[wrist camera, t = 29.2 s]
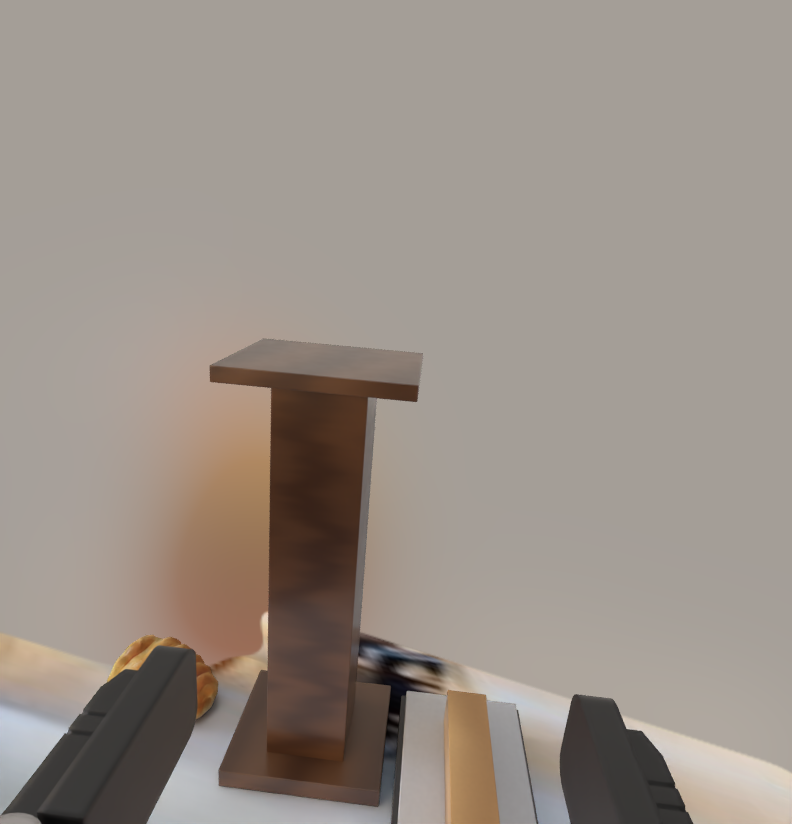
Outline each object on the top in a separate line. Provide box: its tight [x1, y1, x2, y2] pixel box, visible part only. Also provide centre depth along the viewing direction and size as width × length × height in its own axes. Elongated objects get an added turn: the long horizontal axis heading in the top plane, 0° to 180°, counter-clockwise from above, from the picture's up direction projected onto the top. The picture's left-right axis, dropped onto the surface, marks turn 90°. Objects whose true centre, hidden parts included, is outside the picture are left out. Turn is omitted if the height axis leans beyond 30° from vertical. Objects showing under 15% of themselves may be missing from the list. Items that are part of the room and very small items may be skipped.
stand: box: [210, 339, 423, 807], centre depth 40 cm, size 12×10×32 cm
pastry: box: [107, 635, 218, 719], centre depth 47 cm, size 9×7×4 cm
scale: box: [391, 691, 538, 824], centre depth 37 cm, size 10×18×4 cm, turn 176°
